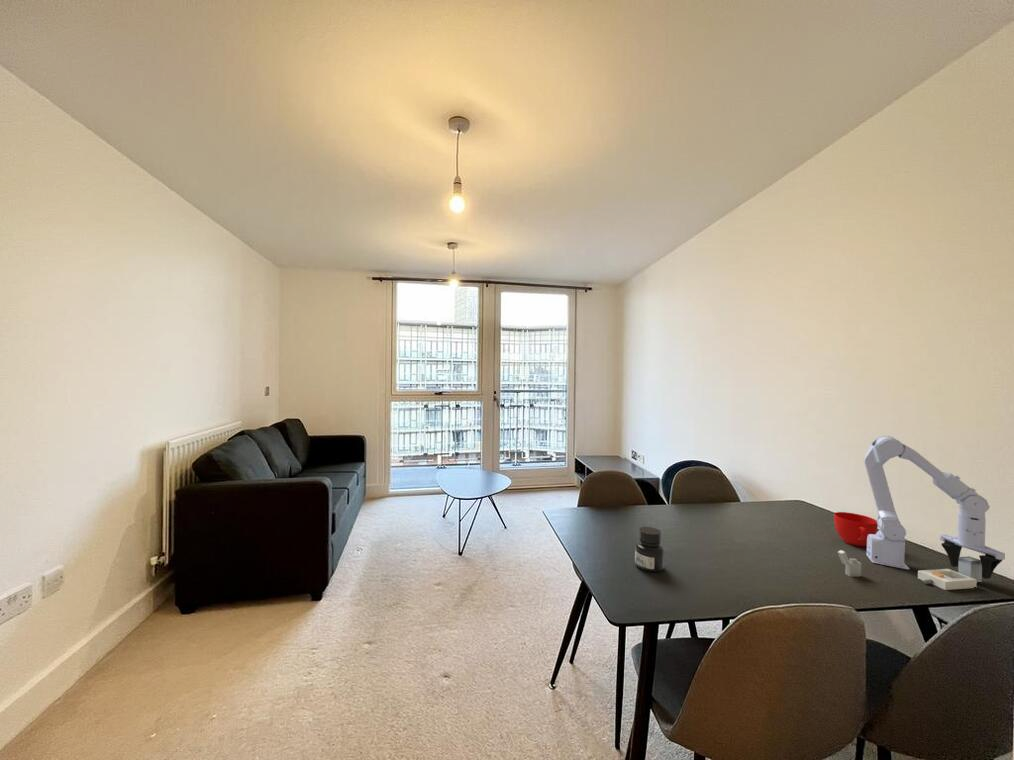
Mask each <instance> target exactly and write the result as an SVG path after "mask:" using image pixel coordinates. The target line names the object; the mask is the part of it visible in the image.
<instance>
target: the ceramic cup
mask: <svg viewBox="0 0 1014 760" xmlns="http://www.w3.org/2000/svg"><path fill="white" fill-rule="evenodd" d="M833 522H834V526H835V530H836V532H837V534H838V536H839V537H840V538H841V539H842V540H843V542H845V543H847V544H848V545H852V546H856V547H867V536H868V534H876V533H877V532H878V529H879V527H878V525H877V519H875V518H872V517H869V516H866V515H863V514H858V513H855V512H854V513H853V512H845V511H838V512H834V514H833Z"/></svg>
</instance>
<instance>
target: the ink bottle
mask: <svg viewBox="0 0 1014 760" xmlns="http://www.w3.org/2000/svg"><path fill="white" fill-rule="evenodd" d="M638 532H639V533H638V534H639V535H638V540H639V541H637V542H636V543H635V549H634V563H635V566H636V567H637V568H639V569H640V570H642V571H645V572H648V573H657V572H658V573H659V572H661V571H663V570H664V568H665V567H664V564H665V563H664V561H665V557H664V556H665V549H664V547H663V546H662V545H661V542H662V541H661V540H662V539H661V538H662V532H661V530H660V529H658V528H656V527H653V526H642V527H639V531H638Z"/></svg>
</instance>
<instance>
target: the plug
mask: <svg viewBox="0 0 1014 760" xmlns="http://www.w3.org/2000/svg"><path fill="white" fill-rule="evenodd" d="M957 570H958V571H957V572H958V573H960V574H963V575H966V576H968V577H971V578H974V579H976V580H977V582H981V583H982V582H983V581H982V580H983V578H982V564H981V560H980V558H979V559H978V558H975V557H973V556H960V557H959V563H958V567H957Z"/></svg>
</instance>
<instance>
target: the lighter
mask: <svg viewBox="0 0 1014 760" xmlns="http://www.w3.org/2000/svg"><path fill="white" fill-rule="evenodd" d="M837 554H838V557H839V559H840V561H841V564H843V565H844V566H845V570H844V571H845V572H844V574H845V575H846V576H847V577H850V578H853V577H861V576H862V562H860V561H858V559H857V558H854V557H853V558H852V557H851V558H850V557H848V555H847V552H846V551H844V550H843V549H840V550H838V551H837Z"/></svg>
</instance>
